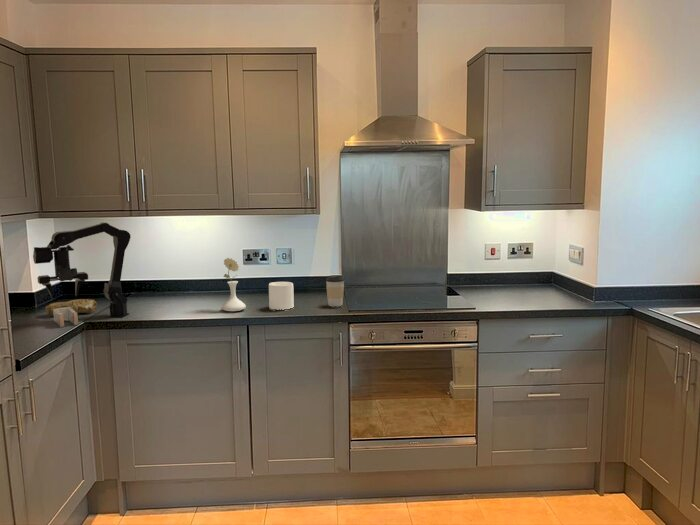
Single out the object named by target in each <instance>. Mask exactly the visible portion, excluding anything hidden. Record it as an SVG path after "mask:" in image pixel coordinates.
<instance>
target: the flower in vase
mask: <svg viewBox="0 0 700 525" xmlns="http://www.w3.org/2000/svg"><path fill="white" fill-rule="evenodd" d="M223 265H224V266H225V268H227V271H228V272H227V273H225V274H224V275H223V278H226V279H230V281H227V284H228V286H229V289H230V296H229V298H228V299H227V300H226V301H225V302H224V303H223V304H222V305H221V310H223V311H225V312H238V311H239V312H240V311H243V310H244V309H246V308H247V305H246V304H245V303H244V302H243V301H242V300H240V299H239V298H238V297H237V294H236V288H237V284H238V283H239V281H238V280H233V279H234V278H236V276H238V274H236V275H234V276H232V277H230V274H229V273H230V271H231V272H238V271H239V264H238V263H237V261H235V259H233V258H231V257H226V258H224V259H223Z"/></svg>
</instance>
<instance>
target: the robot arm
mask: <svg viewBox="0 0 700 525" xmlns="http://www.w3.org/2000/svg"><path fill="white" fill-rule="evenodd" d="M101 233H105V234H106V235H109V236H111V237H112V241H113V242H112V243H113V247H114V251H113V258H112V265H111V271H110V277H109V281H107V283H106V282H104V284H103V286H104V288H103V290H102V292H103V293H104V296H105V298H106V299H108V300H109V302H110V303H109V305H110V306H109V315H108V318H123V317H126V316H129V315H130V313H129V312H128V305H127V302H128V301H129V300H128V298H127V297H126V296H124V295H123V290H122V289H123V288H122V283H121V282H122V281H121V280H122V272H123V267H124V265H123V264H124V260H125V252H126V250H127V248H128V245H129V243H130V241H131V234H130V232H129V231H128V230H125V229H119V228H117V227H115V226H113V225H110V224H109V223H108V222H102V221H101V222H100V223H97V224H94V225H90V226H86V227H81V228H79V229H75V230H65V231H56V232H54V233H52V234H51V235H52V236H51V240H50V241H49V243H48V244H47V246H45V247H44V246H42V247H41V246H40V247H37V246H36V247H35V246H34V247H33V254H32V259H33V260H32V261H33V264H35V265H37V264H38V265H39V264H48V263H49V264H50V263H51V262H52V261H53V260H54V261H53V263H54V272H55V273H54V274H55V276H50V275H48V274H46V275H45V274H44V275H38V276H37V278H36V279H37V284H39V285H42V286H43V287H44V286H45V288H46V290H47V292H48V293H49V295H50V298H51V299H52V300H54V292H53V288H52V283H51V282H55V281H60V282H65V281H69V282H70V281H73V280H75V281H74V282H75V283H74V284H75V285H74V290H75V291H74V295H75V297H78V295H79V291H80V288H81V286H82V284H83V283H84V282H86V280H89V274H88V273H87V272H85V271H78V269H77V267H74V268H71V264H70V263H71V262H70V251H71V252H73V251H74V250H75V249H74V247H72V246H71V245H70V244H71V243H74V242H75V241H77V240H80V239H83V238H87V237H90V236H94V235H99V234H101Z"/></svg>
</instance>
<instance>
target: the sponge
mask: <svg viewBox="0 0 700 525" xmlns="http://www.w3.org/2000/svg"><path fill="white" fill-rule="evenodd" d="M97 305H98V304H97V301H95V299H89V298H87V299H86V298H80V299H73V300H72V299H71V300H68V301H61V302H58V301H57V302H53V303H50V304H48V305H46V306H45V313H46V314H47V315H50V316H54V312H53V309H57V308H65V307H71V308H72V309H73V310H74V311H75V312H77V314H90V313H91V314H92V313H93V312H94V313H95V311H96V309H97Z"/></svg>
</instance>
